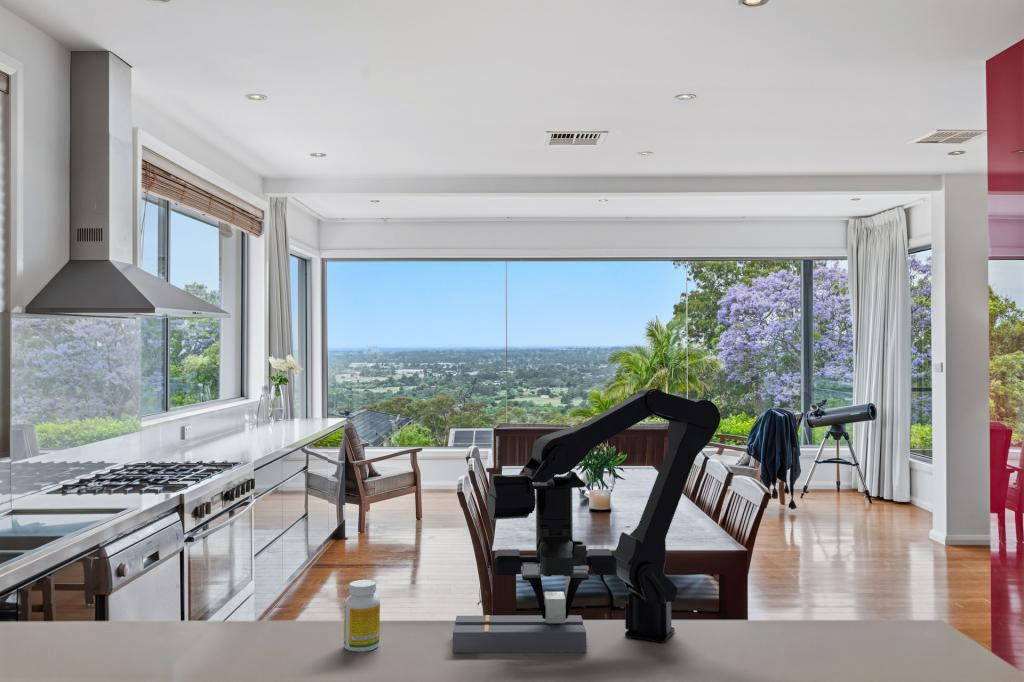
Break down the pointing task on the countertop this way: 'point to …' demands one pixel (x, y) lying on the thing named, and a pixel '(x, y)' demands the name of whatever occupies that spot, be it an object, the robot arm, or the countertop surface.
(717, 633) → the countertop surface
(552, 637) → the fader console
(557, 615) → the fader tab
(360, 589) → the supplement bottle
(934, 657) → the countertop surface
